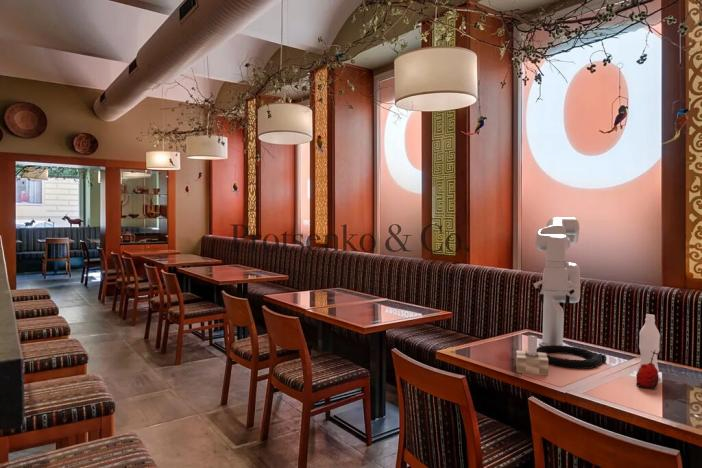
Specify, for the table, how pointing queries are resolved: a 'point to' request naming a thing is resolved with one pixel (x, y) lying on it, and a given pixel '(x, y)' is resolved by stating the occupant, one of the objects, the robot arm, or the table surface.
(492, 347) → the table surface
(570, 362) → the cable lock
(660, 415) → the table surface
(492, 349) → the table surface
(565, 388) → the table surface
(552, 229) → the robot arm
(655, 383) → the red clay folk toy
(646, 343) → the water bottle
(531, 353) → the peg
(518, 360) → the cream rectangular block
